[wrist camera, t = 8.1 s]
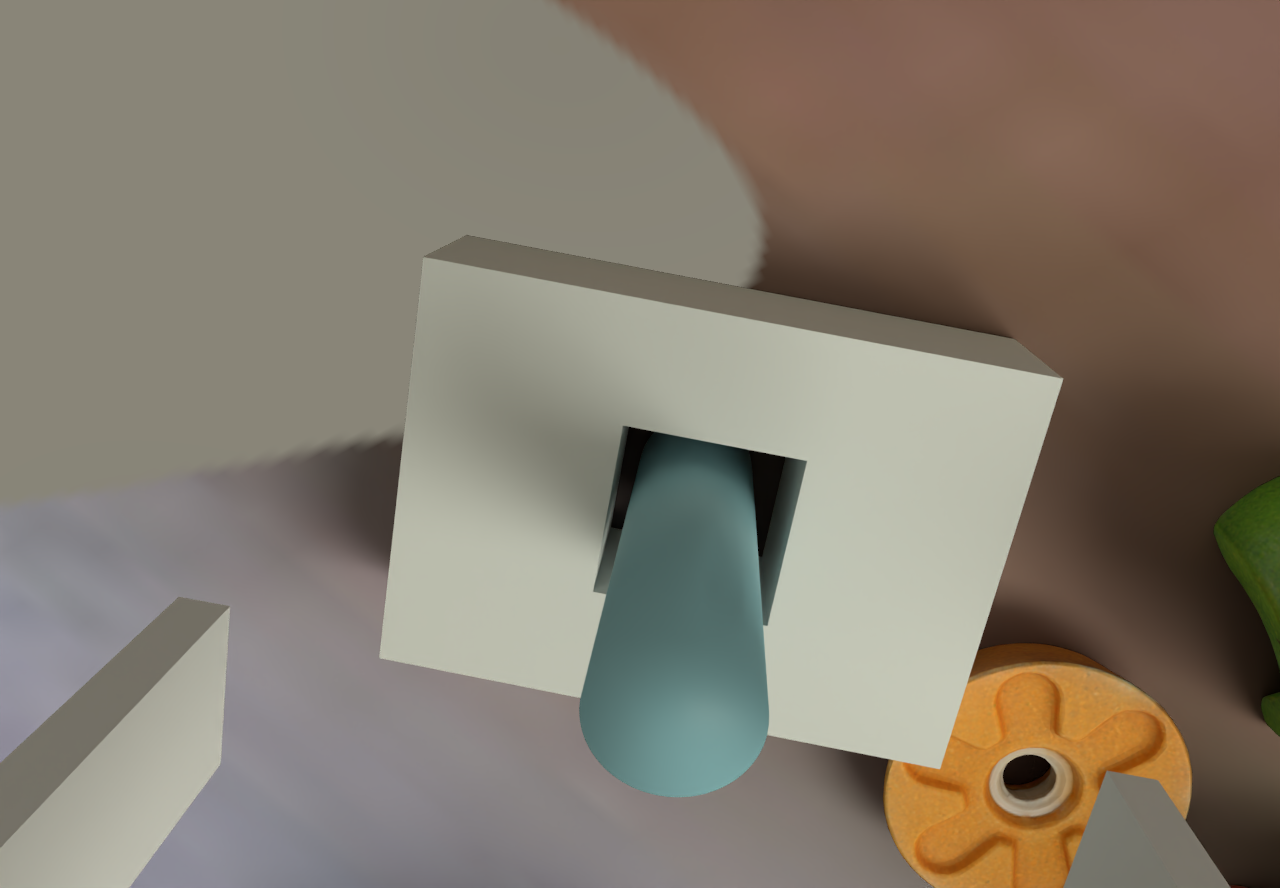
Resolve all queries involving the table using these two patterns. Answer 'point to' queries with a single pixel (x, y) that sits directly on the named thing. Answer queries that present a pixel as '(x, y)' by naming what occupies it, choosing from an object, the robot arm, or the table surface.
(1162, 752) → the colourful stacking toy
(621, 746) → the peg
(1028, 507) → the table surface
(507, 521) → the socket block
